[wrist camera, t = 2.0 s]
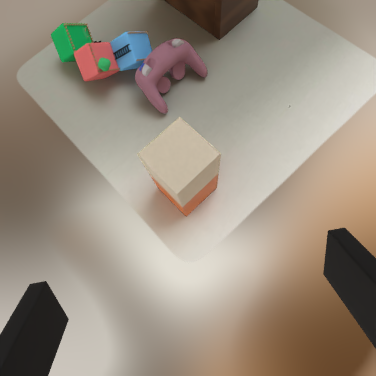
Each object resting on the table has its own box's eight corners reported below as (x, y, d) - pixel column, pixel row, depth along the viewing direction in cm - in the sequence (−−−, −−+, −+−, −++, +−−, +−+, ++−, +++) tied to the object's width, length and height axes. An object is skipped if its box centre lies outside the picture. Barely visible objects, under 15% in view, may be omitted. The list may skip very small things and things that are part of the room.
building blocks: (111, 81, 47) (157, 59, 39) (70, 89, 41) (113, 65, 33) (94, 33, 44) (139, -1, 36) (47, 34, 39) (88, -7, 31)
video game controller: (193, 69, 42) (174, 25, 37) (212, 74, 39) (195, 27, 34) (149, 109, 41) (123, 70, 36) (165, 118, 38) (139, 76, 33)
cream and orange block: (216, 187, 35) (220, 153, 24) (186, 216, 34) (176, 194, 23) (187, 160, 36) (179, 116, 26) (157, 187, 35) (136, 154, 25)
